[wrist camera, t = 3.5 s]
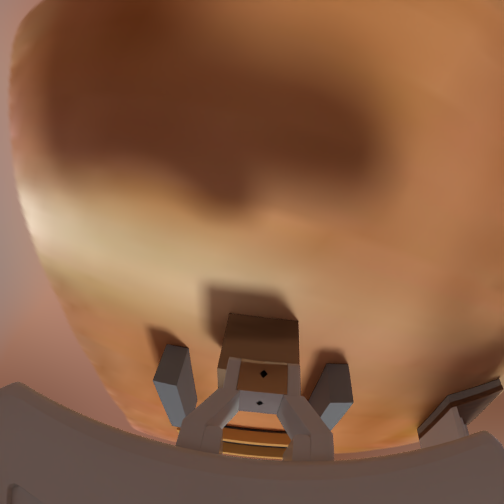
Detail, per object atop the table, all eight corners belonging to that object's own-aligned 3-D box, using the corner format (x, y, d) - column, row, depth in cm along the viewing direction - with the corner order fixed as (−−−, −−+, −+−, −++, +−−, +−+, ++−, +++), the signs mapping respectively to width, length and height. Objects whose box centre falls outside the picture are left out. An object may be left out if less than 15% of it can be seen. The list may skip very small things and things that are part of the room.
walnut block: (229, 312, 20) (217, 368, 16) (298, 320, 20) (299, 377, 16) (228, 353, 23) (218, 403, 18) (286, 360, 22) (285, 410, 18)
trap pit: (180, 417, 32) (176, 429, 30) (312, 432, 31) (313, 445, 29) (187, 435, 36) (184, 446, 34) (300, 448, 35) (300, 459, 34)
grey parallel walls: (166, 344, 23) (152, 380, 19) (348, 364, 22) (353, 402, 19) (180, 396, 28) (172, 425, 25) (319, 412, 27) (320, 442, 24)
